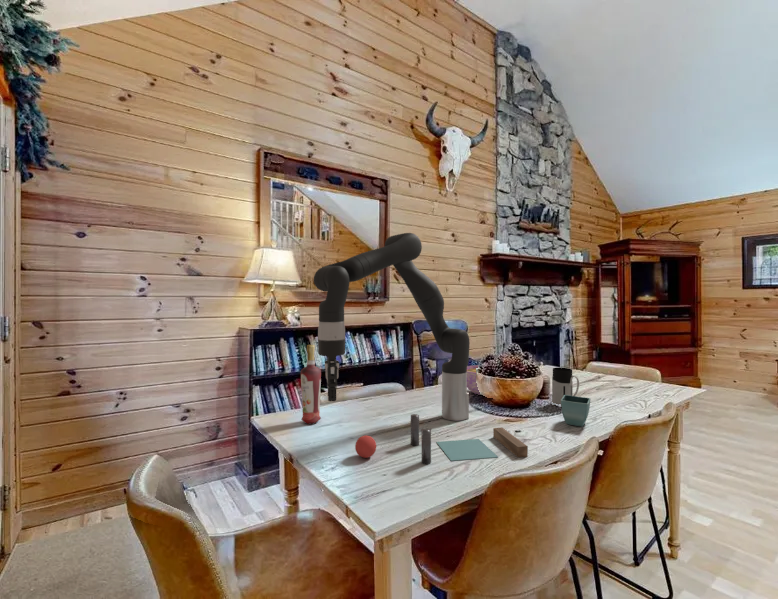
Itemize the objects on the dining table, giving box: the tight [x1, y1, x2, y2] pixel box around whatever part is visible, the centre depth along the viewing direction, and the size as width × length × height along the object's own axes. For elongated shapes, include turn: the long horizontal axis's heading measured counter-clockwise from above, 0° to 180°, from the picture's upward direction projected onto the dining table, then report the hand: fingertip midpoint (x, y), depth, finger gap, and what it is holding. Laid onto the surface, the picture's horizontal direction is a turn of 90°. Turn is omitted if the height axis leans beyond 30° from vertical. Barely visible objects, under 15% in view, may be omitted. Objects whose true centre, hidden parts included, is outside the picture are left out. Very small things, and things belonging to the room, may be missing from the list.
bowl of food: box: [467, 365, 480, 396], centre depth 182 cm, size 20×20×12 cm
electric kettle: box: [551, 366, 580, 404], centre depth 162 cm, size 9×14×15 cm, turn 12°
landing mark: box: [436, 438, 499, 462], centre depth 118 cm, size 14×14×1 cm
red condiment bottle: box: [300, 344, 322, 425], centre depth 143 cm, size 7×7×28 cm
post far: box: [410, 413, 420, 447], centre depth 122 cm, size 3×3×9 cm
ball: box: [354, 435, 377, 459], centre depth 113 cm, size 6×6×6 cm
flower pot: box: [560, 395, 591, 427], centre depth 141 cm, size 9×9×9 cm
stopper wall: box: [492, 427, 529, 458], centre depth 120 cm, size 3×16×3 cm, turn 10°
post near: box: [421, 428, 432, 465], centre depth 109 cm, size 3×3×9 cm
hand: (331, 398), depth 111 cm, fingers open, 4 cm apart
